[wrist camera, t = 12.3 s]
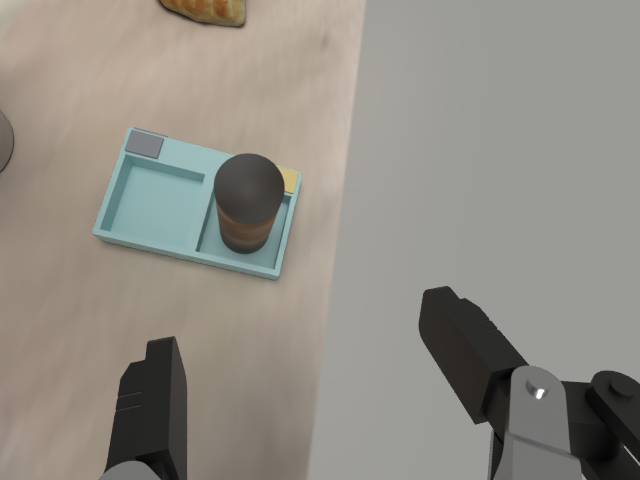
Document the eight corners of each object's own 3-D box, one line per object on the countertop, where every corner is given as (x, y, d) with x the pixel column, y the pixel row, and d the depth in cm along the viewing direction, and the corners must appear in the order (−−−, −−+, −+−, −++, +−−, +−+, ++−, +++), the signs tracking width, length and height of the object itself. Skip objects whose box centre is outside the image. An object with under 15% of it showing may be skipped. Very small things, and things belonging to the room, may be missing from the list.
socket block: (102, 240, 38) (90, 232, 35) (137, 139, 41) (128, 122, 38) (276, 280, 40) (279, 275, 37) (298, 181, 43) (303, 169, 40)
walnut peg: (209, 232, 39) (198, 188, 27) (242, 197, 41) (246, 140, 28) (247, 264, 40) (253, 235, 27) (278, 228, 41) (298, 184, 28)
